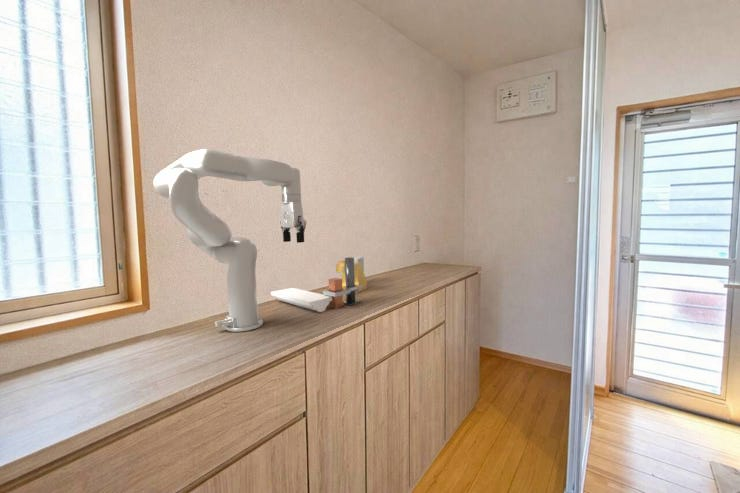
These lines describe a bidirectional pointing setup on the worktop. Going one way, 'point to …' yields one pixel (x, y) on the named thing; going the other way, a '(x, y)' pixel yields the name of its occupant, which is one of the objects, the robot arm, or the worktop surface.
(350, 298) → the rosette post
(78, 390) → the worktop surface
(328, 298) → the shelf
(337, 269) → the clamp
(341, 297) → the orange-brown rectangular block
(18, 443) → the worktop surface
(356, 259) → the skincare box
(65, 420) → the worktop surface
